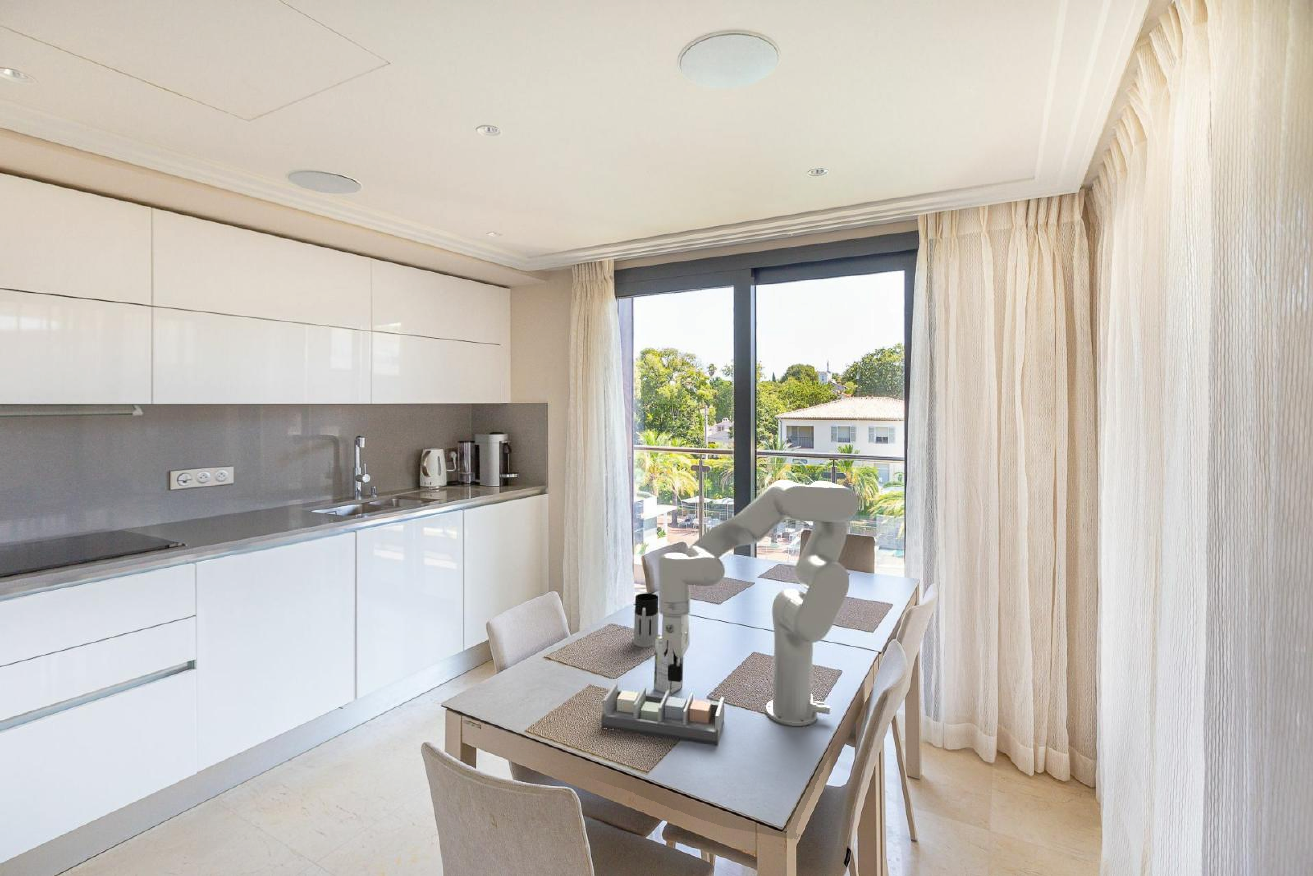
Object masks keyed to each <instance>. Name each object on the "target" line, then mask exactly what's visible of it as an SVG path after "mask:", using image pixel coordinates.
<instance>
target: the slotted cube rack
mask: <svg viewBox="0 0 1313 876" xmlns="http://www.w3.org/2000/svg"><path fill="white" fill-rule="evenodd" d="M618 685H619V684H618V683H617V682H614V683H613V685H612V686H611V688H610V689H609V691H608V692H607V693H606V695H605V696H604V698H603V699H602V714H601V722H600V723H601V727H600V728H607V729H606V730H608V729H614V730H613V731H615V730H620V731H619V732H622V731H624V732H623V733H628V732H631V733H630V734H635V733H636V734H637V735H642V736H649V737H657V738H662V739H671V740H676V741H682V742H683V741H684V742H690V743H696V744H697V743H698V744H703V745H704V744H705V745H710V746H715V747H716V746H717V747H718V745H719V742H720V738H721V734H722V730H723V726H724V723H725V696H724V697H723V696H721V697H720V699H719V702H718V703H716V702H711V716H710V719H709V722H708V723H702V722H695V721H690V707H691V704H692V702H693V700H694V692H692V693H690V694H689V696H688V699H687V703H686V706H685V708H684V711H683V720H681V719H673V718H666V717H665V704H666V702H667V700H668V698H669V697H670V695H669V690H667V691H666V693H664V695H663V696H661V695H656V694H655V695H654V694H647V687H646V686H643V688H642V690H641V691H640V692H638V693H639V696H638V698H637V700H636V701H635V703H634V713H631V712H624V711H617V698H618V696H619V695H620V693H621V692H622V690H618V689H619V688H618ZM645 701H646V702H654V703H660V705H659V707H658V722H656V721H649V720H642V719H641V708H642V707H643V705H644V703H645Z"/></svg>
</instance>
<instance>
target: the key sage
mask: <svg viewBox="0 0 1313 876" xmlns="http://www.w3.org/2000/svg"><path fill="white" fill-rule="evenodd" d="M659 705H660V703H654V702H646V701H645V703H644V705H643V707H642V708H641V719H642V720H649V721H656V722H658V707H659Z"/></svg>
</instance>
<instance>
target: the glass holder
mask: <svg viewBox="0 0 1313 876" xmlns="http://www.w3.org/2000/svg"><path fill="white" fill-rule="evenodd" d="M634 606H635V608H634V620H633V621H634V622H633V625H634V627H633V629H634V630H633V632H634V633H633V640H632V643H633V645H635V646H636V647H641V648H653V647H655V641H656V638H658V637H659V614H660V613H659V595H658V594H655V593H644V592H643V593H639V594H636V595H635V601H634Z"/></svg>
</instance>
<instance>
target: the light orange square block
mask: <svg viewBox="0 0 1313 876" xmlns="http://www.w3.org/2000/svg"><path fill="white" fill-rule="evenodd" d="M711 703H712V702H711V701H704V700H697V699H693V702H692V704H691V707H690V721H695V722H702V723H708V722H709V719H710V716H711Z"/></svg>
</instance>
